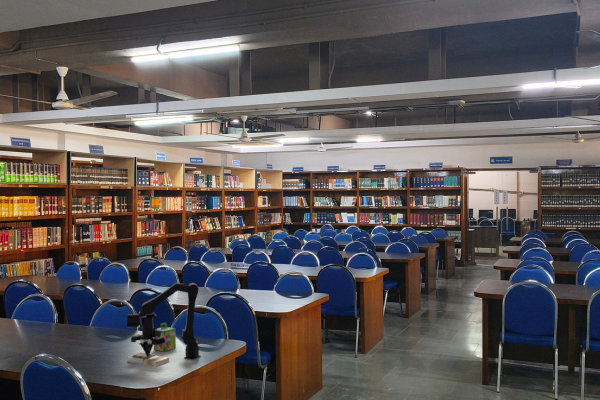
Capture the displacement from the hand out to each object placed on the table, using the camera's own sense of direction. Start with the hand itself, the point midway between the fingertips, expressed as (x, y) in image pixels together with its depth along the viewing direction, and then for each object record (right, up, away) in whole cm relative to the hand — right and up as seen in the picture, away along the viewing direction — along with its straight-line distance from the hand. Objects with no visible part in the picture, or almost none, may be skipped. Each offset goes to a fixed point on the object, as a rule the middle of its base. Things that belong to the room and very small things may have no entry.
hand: (148, 356), depth 275 cm
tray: (-4, -3, +2) cm, 5 cm away
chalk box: (+3, -4, +24) cm, 25 cm away
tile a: (-2, -2, +1) cm, 3 cm away
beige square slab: (+5, -3, -3) cm, 6 cm away
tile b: (-6, -3, +3) cm, 7 cm away
